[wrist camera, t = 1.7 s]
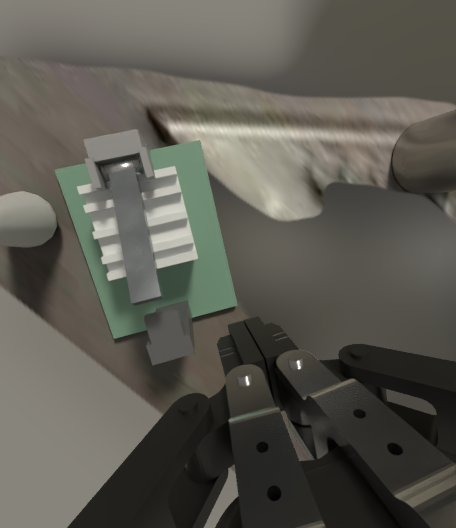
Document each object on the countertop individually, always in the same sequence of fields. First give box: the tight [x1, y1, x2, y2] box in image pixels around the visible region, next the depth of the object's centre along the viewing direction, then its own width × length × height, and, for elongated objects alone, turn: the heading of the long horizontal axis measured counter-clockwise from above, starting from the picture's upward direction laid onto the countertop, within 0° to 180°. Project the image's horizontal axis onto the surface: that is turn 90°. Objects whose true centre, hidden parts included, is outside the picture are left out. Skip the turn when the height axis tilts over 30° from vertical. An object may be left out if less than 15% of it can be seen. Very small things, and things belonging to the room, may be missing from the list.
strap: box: [101, 157, 163, 306], centre depth 23 cm, size 3×13×1 cm
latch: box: [144, 300, 195, 366], centre depth 30 cm, size 4×5×10 cm
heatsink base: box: [55, 129, 237, 339], centre depth 29 cm, size 16×21×10 cm
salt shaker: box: [0, 191, 57, 248], centre depth 25 cm, size 6×6×13 cm
